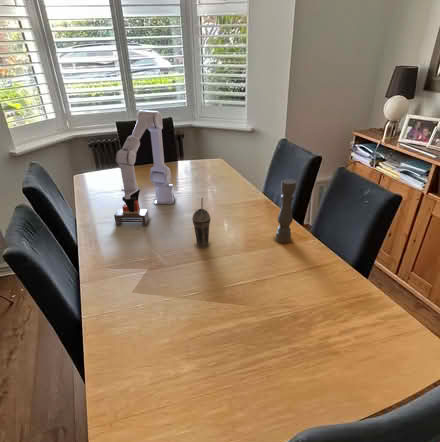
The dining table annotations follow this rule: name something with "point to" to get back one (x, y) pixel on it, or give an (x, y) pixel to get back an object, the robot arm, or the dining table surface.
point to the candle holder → (285, 211)
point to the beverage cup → (201, 226)
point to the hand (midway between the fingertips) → (133, 208)
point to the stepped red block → (136, 211)
